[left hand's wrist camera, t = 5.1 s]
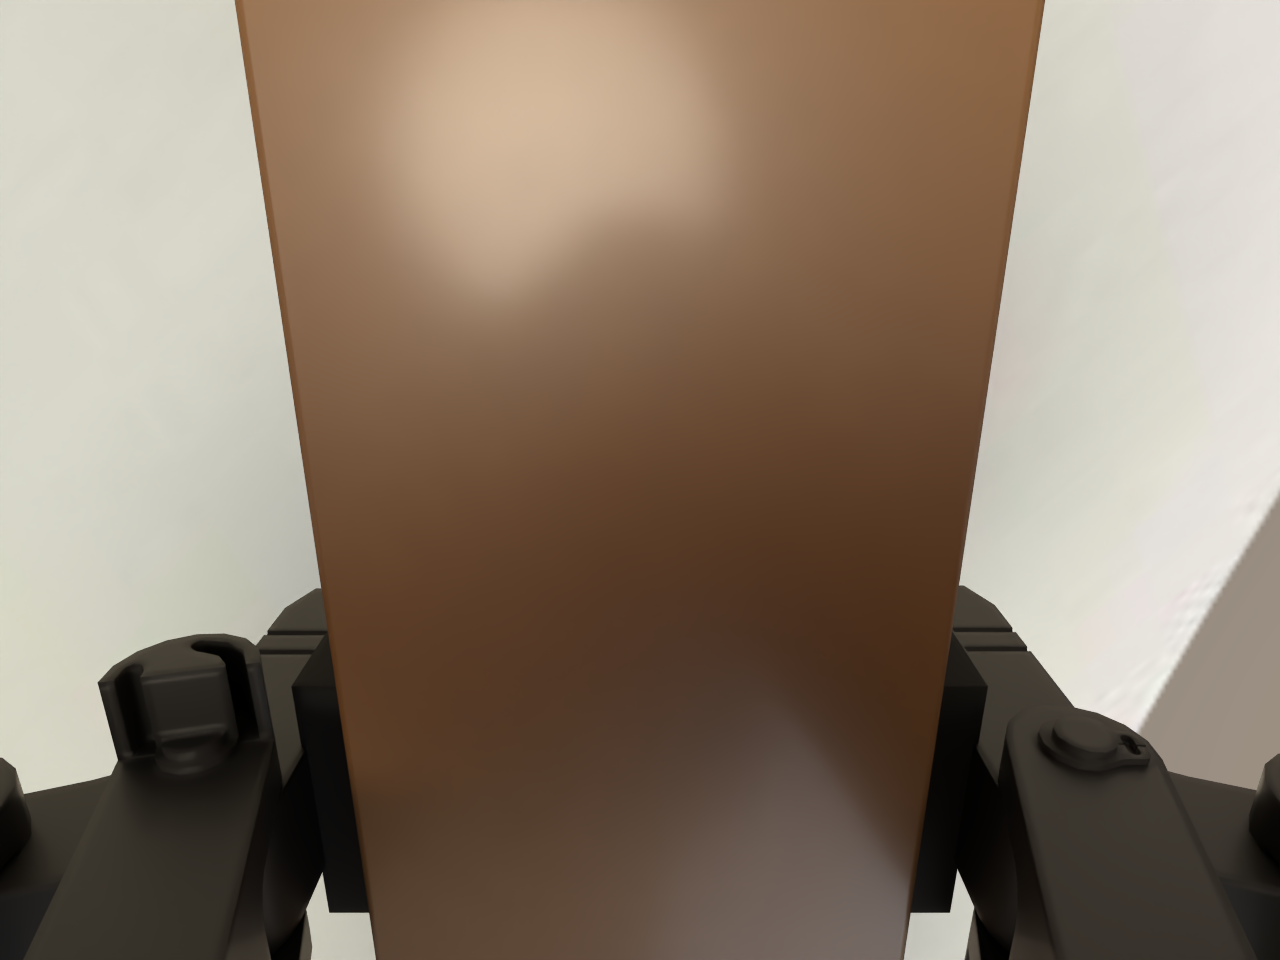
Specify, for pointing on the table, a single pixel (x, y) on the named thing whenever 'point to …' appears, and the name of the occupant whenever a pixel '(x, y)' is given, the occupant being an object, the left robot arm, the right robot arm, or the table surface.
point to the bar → (639, 446)
